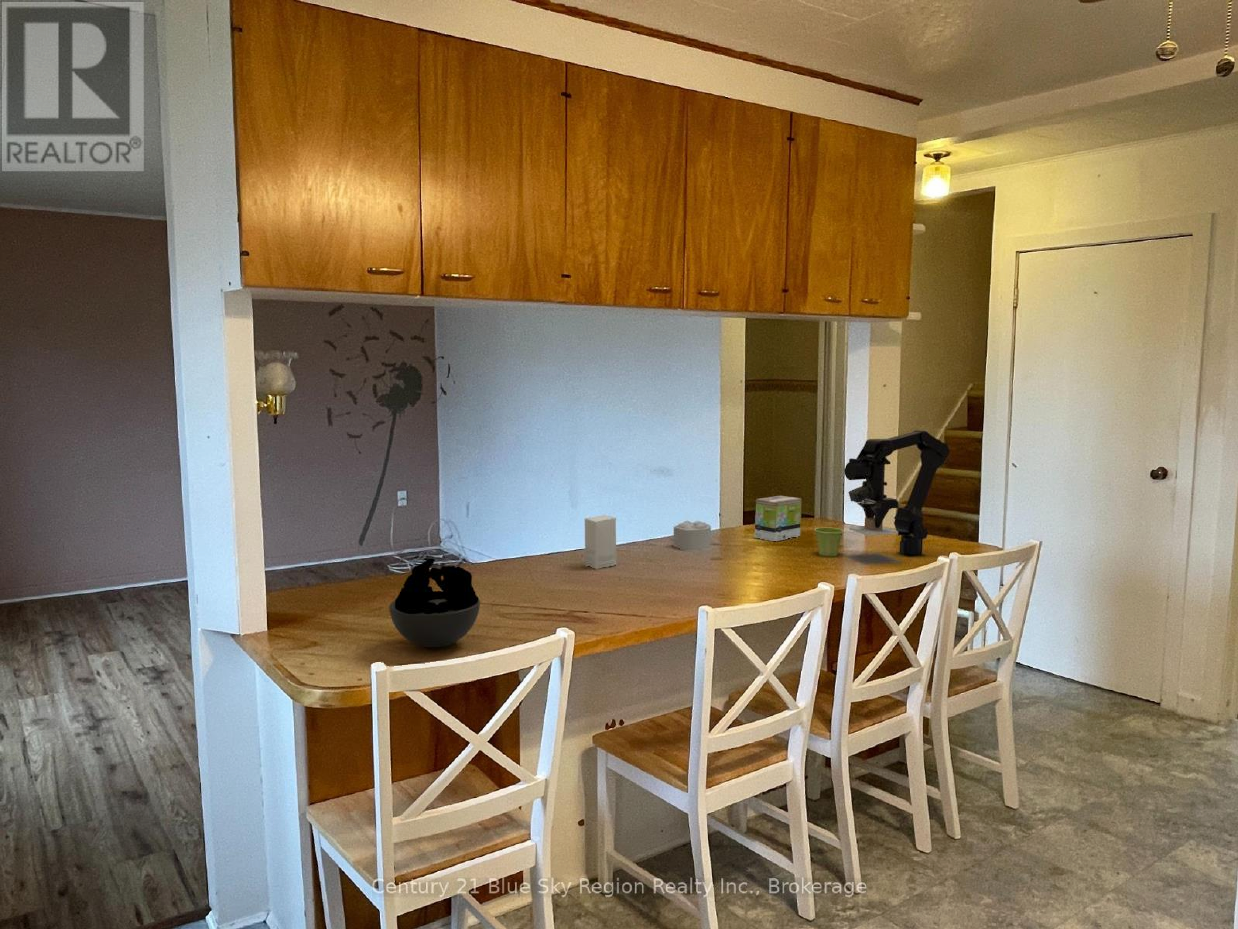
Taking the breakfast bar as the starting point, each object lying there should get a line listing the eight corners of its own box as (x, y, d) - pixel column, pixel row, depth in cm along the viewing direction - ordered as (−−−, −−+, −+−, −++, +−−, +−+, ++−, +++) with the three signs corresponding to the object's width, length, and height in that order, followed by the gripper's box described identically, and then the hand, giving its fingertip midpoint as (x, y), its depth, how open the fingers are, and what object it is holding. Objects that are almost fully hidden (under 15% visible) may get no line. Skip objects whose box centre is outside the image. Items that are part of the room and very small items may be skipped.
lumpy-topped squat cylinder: (670, 546, 308) (670, 521, 307) (700, 542, 315) (700, 518, 314) (687, 551, 299) (687, 526, 299) (717, 547, 306) (718, 522, 305)
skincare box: (605, 562, 283) (605, 514, 281) (617, 566, 277) (617, 517, 276) (583, 566, 278) (583, 517, 276) (595, 570, 272) (595, 520, 271)
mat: (879, 554, 294) (879, 553, 293) (902, 562, 281) (902, 561, 281) (844, 556, 290) (844, 555, 290) (866, 565, 278) (866, 564, 277)
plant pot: (840, 552, 296) (841, 527, 295) (844, 558, 287) (845, 532, 286) (812, 552, 297) (812, 527, 296) (815, 558, 288) (816, 532, 287)
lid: (878, 527, 291) (879, 515, 291) (898, 533, 281) (898, 520, 280) (849, 529, 288) (849, 516, 288) (867, 535, 278) (868, 522, 277)
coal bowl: (467, 661, 188) (465, 575, 186) (377, 659, 190) (374, 574, 188) (490, 633, 208) (488, 555, 206) (407, 631, 210) (405, 554, 208)
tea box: (776, 542, 314) (776, 501, 312) (753, 538, 321) (754, 498, 320) (801, 537, 324) (802, 497, 322) (779, 533, 331) (780, 494, 330)
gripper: (837, 475, 289) (836, 522, 291) (868, 483, 271) (867, 533, 273) (867, 474, 292) (866, 521, 294) (900, 481, 274) (898, 531, 276)
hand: (873, 526), depth 284 cm, fingers closed on lid, 4 cm apart
